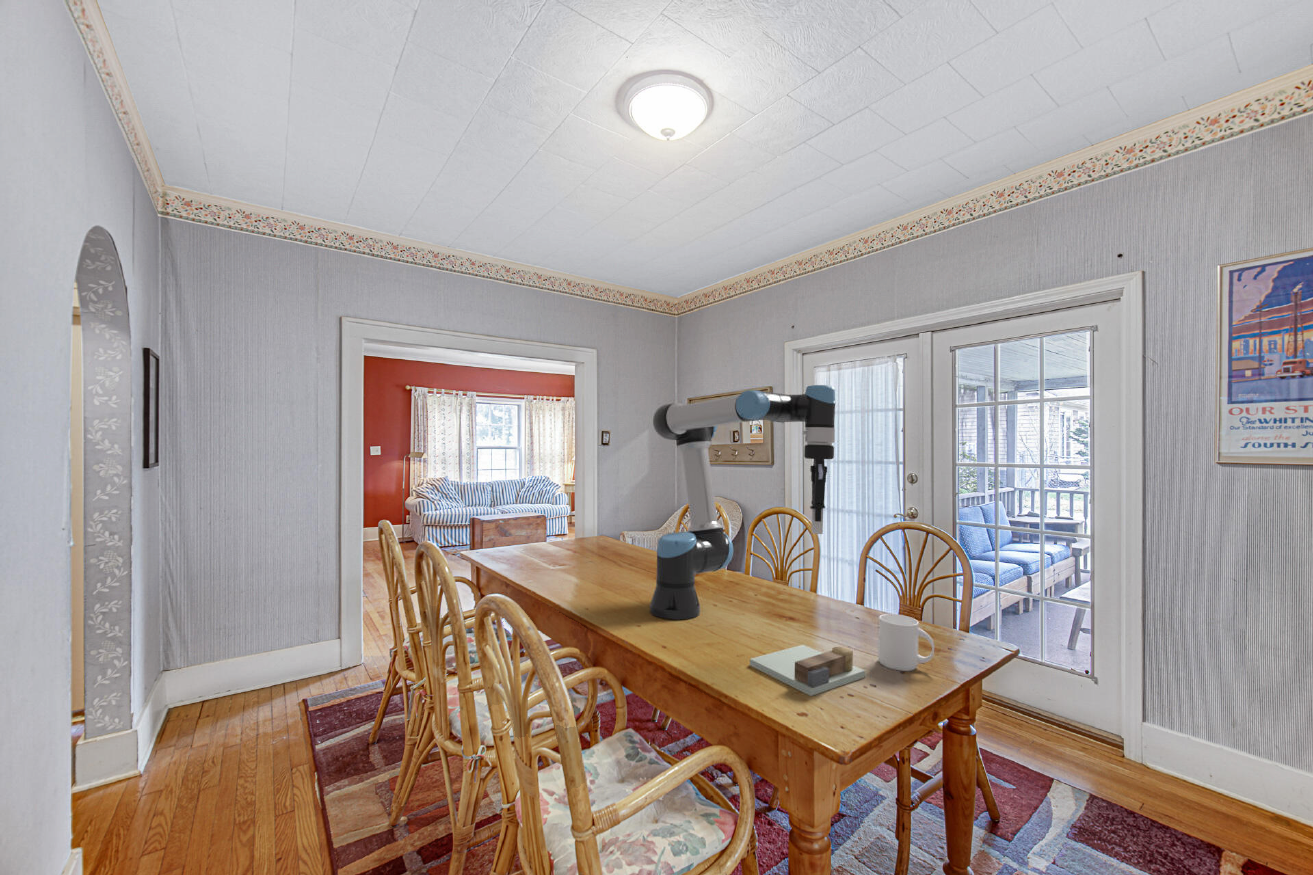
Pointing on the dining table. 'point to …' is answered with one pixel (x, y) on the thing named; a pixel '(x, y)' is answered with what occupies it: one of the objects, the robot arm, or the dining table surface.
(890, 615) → the mug
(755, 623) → the dining table surface
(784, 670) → the seat board
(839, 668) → the leg
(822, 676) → the block
